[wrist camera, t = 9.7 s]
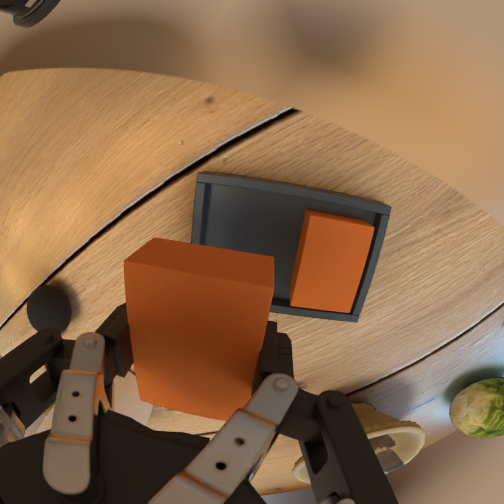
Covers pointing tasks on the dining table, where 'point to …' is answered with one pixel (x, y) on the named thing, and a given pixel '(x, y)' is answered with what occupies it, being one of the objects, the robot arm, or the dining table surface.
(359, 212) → the frame
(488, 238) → the dining table surface
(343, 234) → the pad seated
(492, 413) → the lettuce
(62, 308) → the light bulb
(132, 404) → the can
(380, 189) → the dining table surface
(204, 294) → the pad loose
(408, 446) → the bowl
